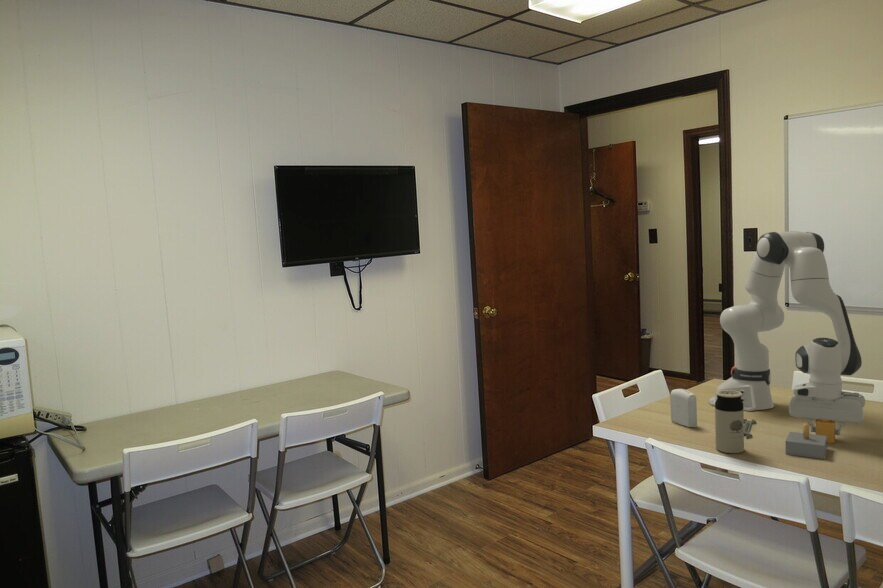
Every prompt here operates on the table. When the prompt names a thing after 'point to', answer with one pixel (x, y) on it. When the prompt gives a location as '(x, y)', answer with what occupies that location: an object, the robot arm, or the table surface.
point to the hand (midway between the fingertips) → (825, 433)
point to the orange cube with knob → (826, 429)
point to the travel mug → (729, 421)
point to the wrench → (748, 428)
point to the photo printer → (683, 407)
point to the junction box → (806, 444)
